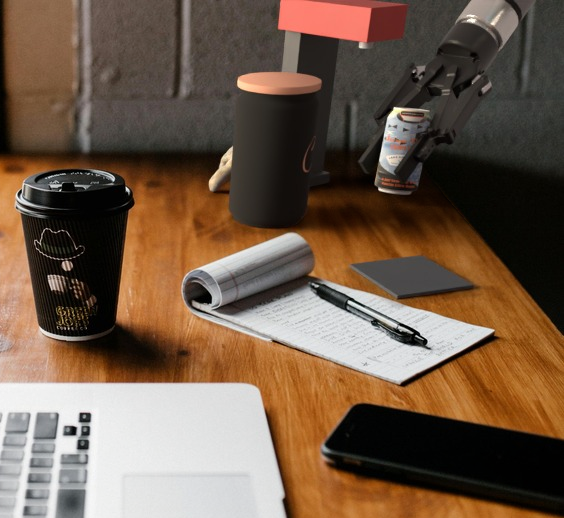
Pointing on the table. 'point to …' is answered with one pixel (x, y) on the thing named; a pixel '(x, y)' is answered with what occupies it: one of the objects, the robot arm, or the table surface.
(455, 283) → the mat
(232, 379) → the table surface
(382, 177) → the beverage can
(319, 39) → the coffee maker
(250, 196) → the coffee jar
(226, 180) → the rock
